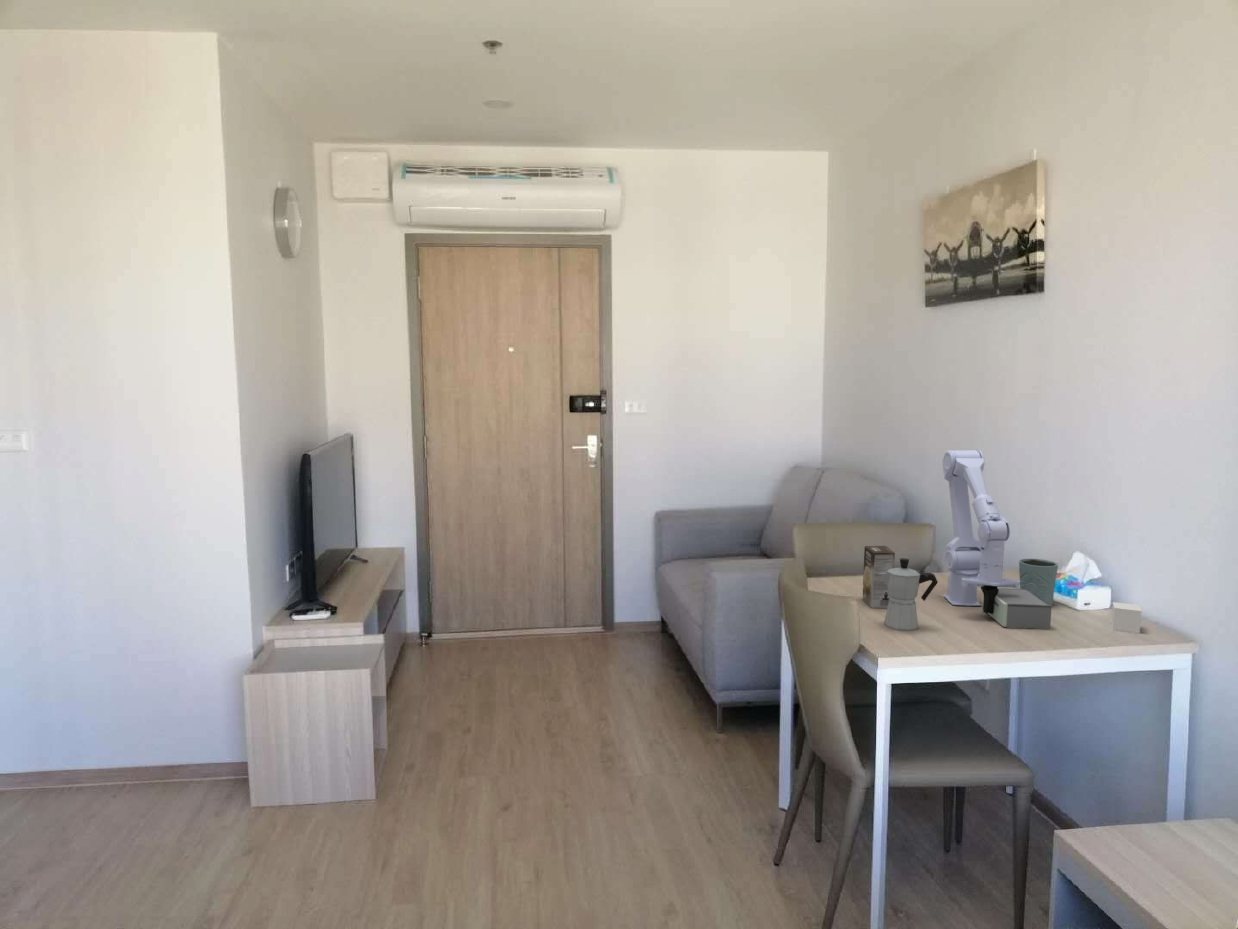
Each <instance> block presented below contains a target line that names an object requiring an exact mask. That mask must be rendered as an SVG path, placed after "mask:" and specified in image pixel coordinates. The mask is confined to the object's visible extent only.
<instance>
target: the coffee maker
mask: <svg viewBox="0 0 1238 929" xmlns="http://www.w3.org/2000/svg"><path fill="white" fill-rule="evenodd" d="M909 561H910V558H909V559H908V558H905V557H904V558H902V557H901V558H900V559H899V562H900V567H894V568H892V569H889V570H888V571H886V572H882V573H879V574H880V575H881V576H882V578H883V580H884V582H885V584H886V586H887V588H888V595H889V596H890V599H889V603H888V608H886V614H885V618H884V625H885V627H886V628H888V629H892V630H895V631H909V632H911V631H912V632H913V631H915V630H917V629H919V620H918V612H917V604H916V601H915V600H916V598H917V596H918V592H919V587H920V584H923V583H926V582H929V581H931V583H930V584H929V586H928V587H927V588H926V590H925V591H924V593H923V594H922V595H921V597H920V598H921V600H922V601H923V602H925V601H926V600H927V598H928V597H929V595H930V594H931V593H932V591H933V590H934V589H935V587H936V586H937V584H938V582H939V581H938V579H937V577H936V575H935V574H934V573H932V572H925V570H923V569H918V570H916V569H912V568H909V567H908V565H909V563H910V562H909Z"/></svg>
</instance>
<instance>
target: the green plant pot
mask: <svg viewBox="0 0 1238 929" xmlns="http://www.w3.org/2000/svg"><path fill="white" fill-rule="evenodd" d="M1018 568H1019V569H1018V570H1019V572H1018V573H1019V582H1020V583H1019V589H1028V590H1030V591H1031V592H1033V593H1034V594H1035V595H1037V596H1038V597H1040V598H1041V599H1043V600H1044V601H1046V602H1047V603H1049V604H1050V605H1051V606H1053V605H1054V596H1055V594H1054V593H1055V588H1056V587H1055V585H1056V579H1057V575H1058V569H1059V563H1057V562H1055V561H1052V560H1047V559H1042V558H1041V559H1040V558H1039V559H1038V558H1022V559H1020V560H1018Z"/></svg>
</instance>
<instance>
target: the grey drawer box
mask: <svg viewBox="0 0 1238 929" xmlns="http://www.w3.org/2000/svg"><path fill="white" fill-rule="evenodd" d="M997 589H998V590H999V592H998V594H997V595H996V596H998V597H999V598H1000V599H1001V600H1003V601H1004V602H1005V603H1007V604H1008V607H1007V623H1006V627H1007V628H1006V627H1005V628H1006V629H1028V628H1036V630H1051V624H1052V623H1051V620H1052V606H1053V605H1052V606H1051V605H1050V604H1049V603H1047V602H1046V601H1044V600H1043V599H1041V598H1040V597H1038V596H1037V595H1035V594H1034V593H1033V592H1031V591H1030V590H1028V589H1020V588H1007V587H997ZM1010 627H1012V628H1010Z"/></svg>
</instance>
